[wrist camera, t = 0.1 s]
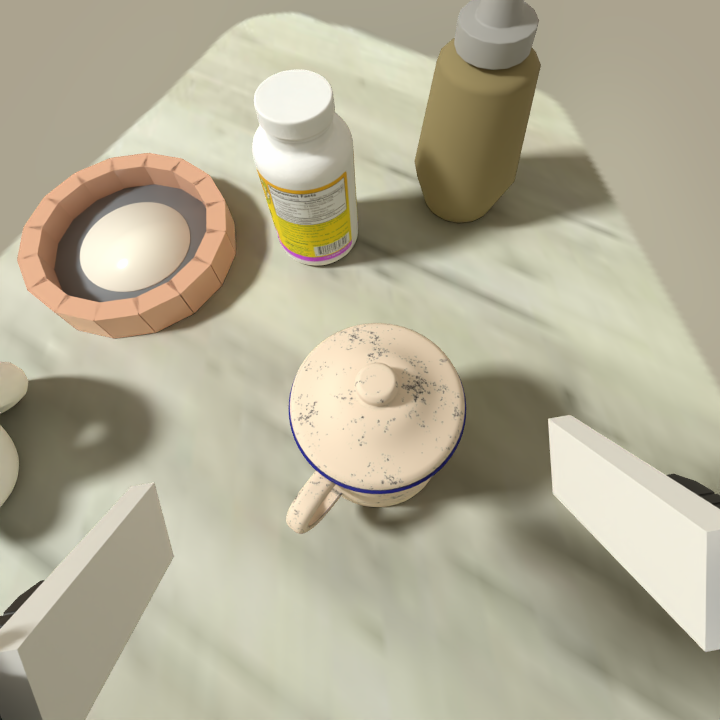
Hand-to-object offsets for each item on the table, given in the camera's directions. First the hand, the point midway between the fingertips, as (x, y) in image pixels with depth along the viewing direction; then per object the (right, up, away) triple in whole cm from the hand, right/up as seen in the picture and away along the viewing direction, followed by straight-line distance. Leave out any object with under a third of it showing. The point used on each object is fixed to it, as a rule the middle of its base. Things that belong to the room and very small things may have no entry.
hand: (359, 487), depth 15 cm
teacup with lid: (0, -3, +16) cm, 16 cm away
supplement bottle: (-3, +14, +24) cm, 28 cm away
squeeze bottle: (+8, +18, +25) cm, 32 cm away
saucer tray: (-18, +13, +23) cm, 33 cm away
